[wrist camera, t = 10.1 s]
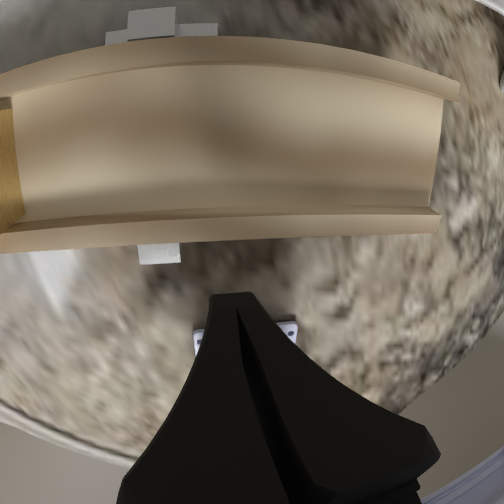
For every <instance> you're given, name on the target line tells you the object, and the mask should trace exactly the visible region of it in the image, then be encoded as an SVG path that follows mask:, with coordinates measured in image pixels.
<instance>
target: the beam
mask: <svg viewBox="0 0 504 504" xmlns="http://www.w3.org/2000/svg"><path fill="white" fill-rule="evenodd" d="M459 92H460V83H459V82H457V81H454V80H452V79H449V78H446V77H444V76H441V75H438V74H436V73H433V72H430V71H427V70H424V69H421V68H418V67H415V66H412V65H409V64H405V63H402V62H399V61H395V60H392V59H388V58H384V57H380V56H376V55H372V54H368V53H364V52H360V51H355V50H350V49H345V48H340V47H335V46H329V45H323V44H317V43H310V42H303V41H295V40H286V39H276V38H264V37H247V36H185V37H168V38H156V39H146V40H137V41H130V42H122V43H116V44H110V45H104V46H99V47H93V48H88V49H84V50H79V51H75V52H70V53H66V54H62V55H58V56H55V57H51V58H47V59H44V60H40V61H37V62H34V63H31V64H27V65H24V66H21V67H18V68H16V69H13V70H10V71H7V72H4V73H2V74H0V110H5V109H11V108H13V125H14V138H15V149H16V158H17V165H18V173H19V179H20V186H21V191H22V197H23V202H24V207H25V212H26V213H25V214H24V215H23V216H22V217H21V218H19V219H18V220H17V221H16V222H15V223H14V224H12V225H11V226H10V227H9V228H8V229H7V230H6V231H4V232H3V233H2V234H1V235H0V254H3V253H18V252H32V251H47V250H63V249H79V248H95V247H112V246H129V245H147V244H166V243H186V242H206V241H227V240H249V239H272V238H296V237H322V236H350V235H380V234H414V233H437V232H438V228H439V224H440V220H441V215H440V214H439V213H437V212H435V211H434V210H432V209H431V208H429V207H428V206H429V201H430V196H431V191H432V185H433V180H434V174H435V168H436V162H437V155H438V148H439V140H440V131H441V122H442V111H443V99H444V100H451V101H458V102H459Z"/></svg>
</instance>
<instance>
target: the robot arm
mask: <svg viewBox="0 0 504 504" xmlns="http://www.w3.org/2000/svg"><path fill="white" fill-rule="evenodd" d="M297 329H298V326H297V323H296V322H294V321H287V322H278V323H275V321H274V320H273V319H272V318H271V317H270V315H269V314H268V313H267V312H266V310H265V309H264V308H263V306H262V305H261V304H260V302H259V301H258V300H257V298H256V297H255V295H254V294H253V293H252V292H242V293H229V294H215V295H212V296H211V297H209V312H208V317H207V322H206V326H205V329H197V330H195V331H194V332H193V341H194V349H195V356H196V358H195V361H194V363H193V366H192V368H191V371H190V373H189V375H188V378H187V380H186V382H185V384H184V386H183V388H182V390H181V392H180V394H179V396H178V398H177V400H176V402H175V404H174V406H173V407H172V409H171V411H170V413H169V414H168V416H167V418H166V420H165V421H164V423H163V424H162V426H161V427H160V429H159V430H158V432H157V433H156V435H155V436H154V438H153V439H152V441H151V442H150V444H149V445H148V447H147V448H146V450H145V451H144V452H143V454H142V455H141V456H140V457H139V459H138V460H137V461H136V462H135V464H134V465H133V466H132V467H131V469H130V470H129V471H128V473H127V474H126V475H125V476H124V478H123V480H122V483H121V487H120V490H119V493H118V497H117V503H116V504H504V446H503V447H501V448H500V449H499V450H498V451H496V452H495V453H494V454H492V455H491V456H490V457H488V458H487V459H486V460H484V461H483V462H481V463H480V464H479V465H477V466H476V467H474V468H473V469H471V470H470V471H468V472H467V473H465V474H464V475H462V476H460V477H459V478H457V479H456V480H454V481H452V482H451V483H449V484H447V485H446V486H444V487H442V488H441V489H439V490H437V491H435V492H434V493H432V494H430V495H428V496H426V497H424V498H422V499H420V498H419V496H418V494H417V492H416V491H418V490H419V489H420V485H419V483H418V481H417V478H418V477H419V476H420V475H421V474H423V473H424V472H425V471H427V470H428V469H429V468H430V467H431V466H433V464H435V463H436V462H437V461H438V459H439V458H440V455H441V454H440V452H439V450H438V448H437V446H436V444H435V442H434V440H433V438H432V436H431V435H430V433H429V432H428V430H427V429H426V427H425V426H424V425H421V424H419V423H416V422H414V421H411V420H409V419H406V418H404V417H401V416H399V415H397V414H394V413H392V412H390V411H388V410H386V409H384V408H382V407H380V406H378V405H376V404H374V403H372V402H371V401H369V400H367V399H366V398H364V397H362V396H361V395H359V394H358V393H356V392H354V391H353V390H351V389H350V388H348V387H346V386H345V385H343V384H342V383H341V382H339V381H338V380H336V379H335V378H334V377H332V376H331V375H330V374H328V373H327V372H326V371H325V370H323V369H322V368H321V367H320V366H318V365H317V364H316V363H315V362H314V361H313V360H311V359H310V358H309V357H308V356H307V355H306V354H305V353H304V352H303V351H302V350H301V349H300V348H299V347H298V346H297V345H296V344H295V342H296V335H297ZM290 331H292V332H290ZM288 332H290V333H288ZM198 340H202V341H198Z"/></svg>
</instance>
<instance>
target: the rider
mask: <svg viewBox="0 0 504 504" xmlns="http://www.w3.org/2000/svg"><path fill="white" fill-rule="evenodd" d="M25 213H26V212H25V207H24V202H23V197H22V191H21V186H20V179H19V173H18V165H17V158H16V149H15V138H14V125H13V108H11V109H5V110H0V235H1V234H2V233H3V232H4V231H6V230H7V229H8V228H9V227H10V226H11V225H12V224H14V223H15V222H16V221H17V220H18V219H19V218H21V217H22V216H23V215H24V214H25Z"/></svg>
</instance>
